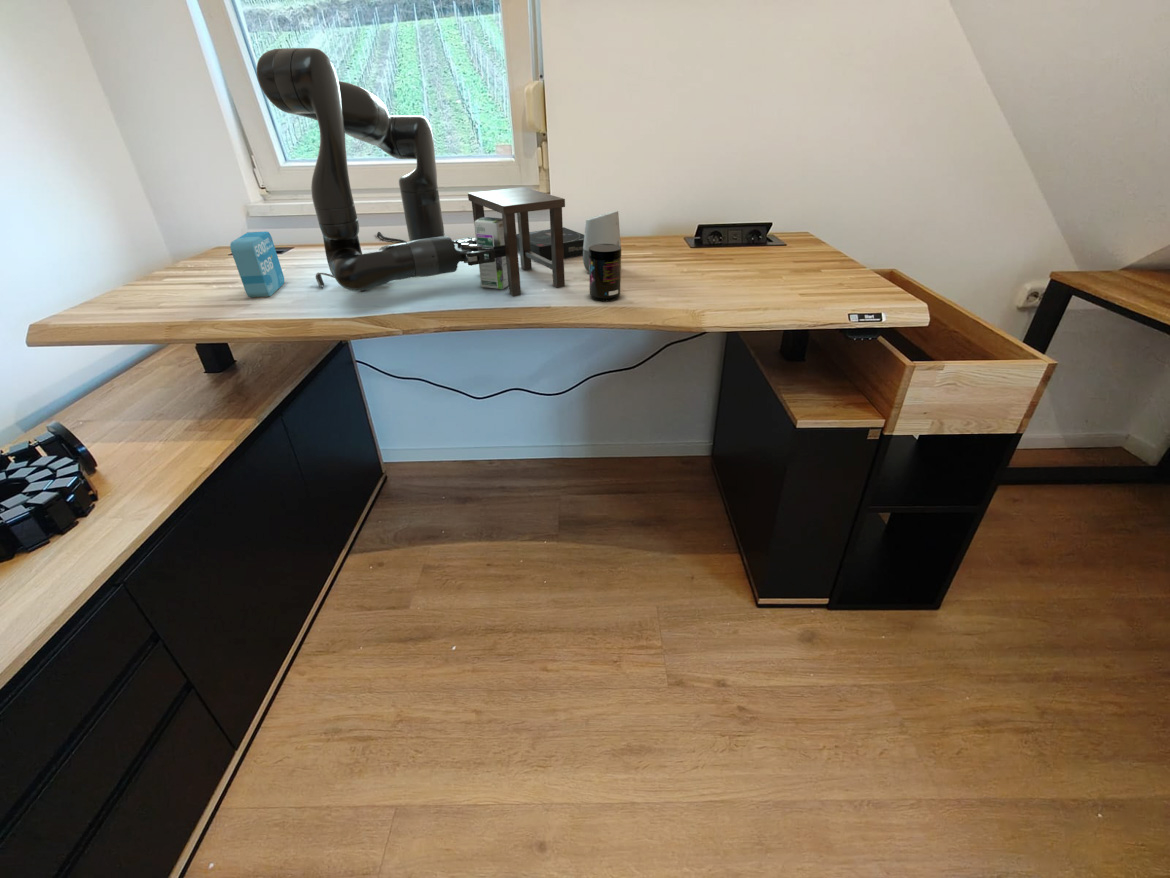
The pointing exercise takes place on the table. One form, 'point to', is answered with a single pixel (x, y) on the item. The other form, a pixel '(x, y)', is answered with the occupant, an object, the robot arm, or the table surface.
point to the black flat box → (542, 243)
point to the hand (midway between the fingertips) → (501, 246)
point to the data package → (257, 264)
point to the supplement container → (605, 271)
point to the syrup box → (488, 236)
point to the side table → (524, 229)
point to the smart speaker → (601, 233)
